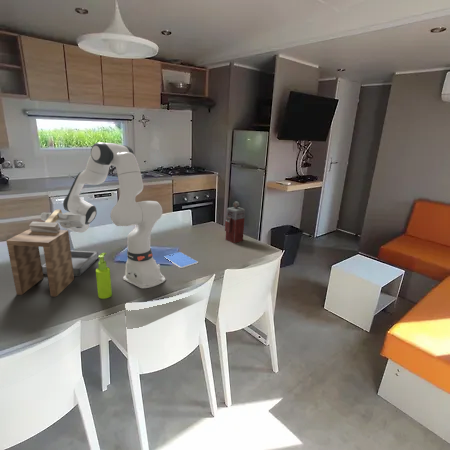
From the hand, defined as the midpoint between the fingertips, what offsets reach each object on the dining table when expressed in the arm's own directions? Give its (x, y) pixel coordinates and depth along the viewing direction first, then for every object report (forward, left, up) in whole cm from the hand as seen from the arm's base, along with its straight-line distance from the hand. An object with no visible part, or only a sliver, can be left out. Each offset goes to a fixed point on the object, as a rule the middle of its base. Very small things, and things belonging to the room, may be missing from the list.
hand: (54, 214), depth 146 cm
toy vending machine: (-20, -105, -32) cm, 112 cm away
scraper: (-2, +2, -3) cm, 4 cm away
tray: (+7, -7, -32) cm, 33 cm away
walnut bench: (-10, +10, -32) cm, 35 cm away
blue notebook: (-24, -57, -32) cm, 70 cm away
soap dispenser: (-34, -8, -32) cm, 47 cm away
